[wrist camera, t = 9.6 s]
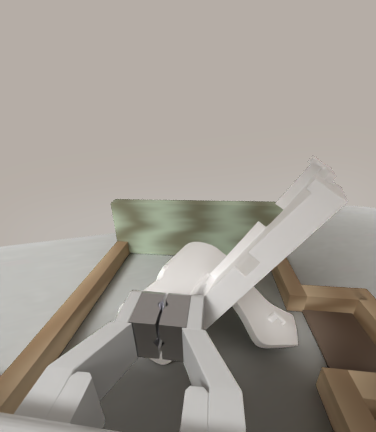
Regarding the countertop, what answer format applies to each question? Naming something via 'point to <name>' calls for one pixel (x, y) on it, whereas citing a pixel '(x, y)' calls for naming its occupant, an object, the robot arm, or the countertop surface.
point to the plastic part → (255, 261)
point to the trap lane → (225, 241)
